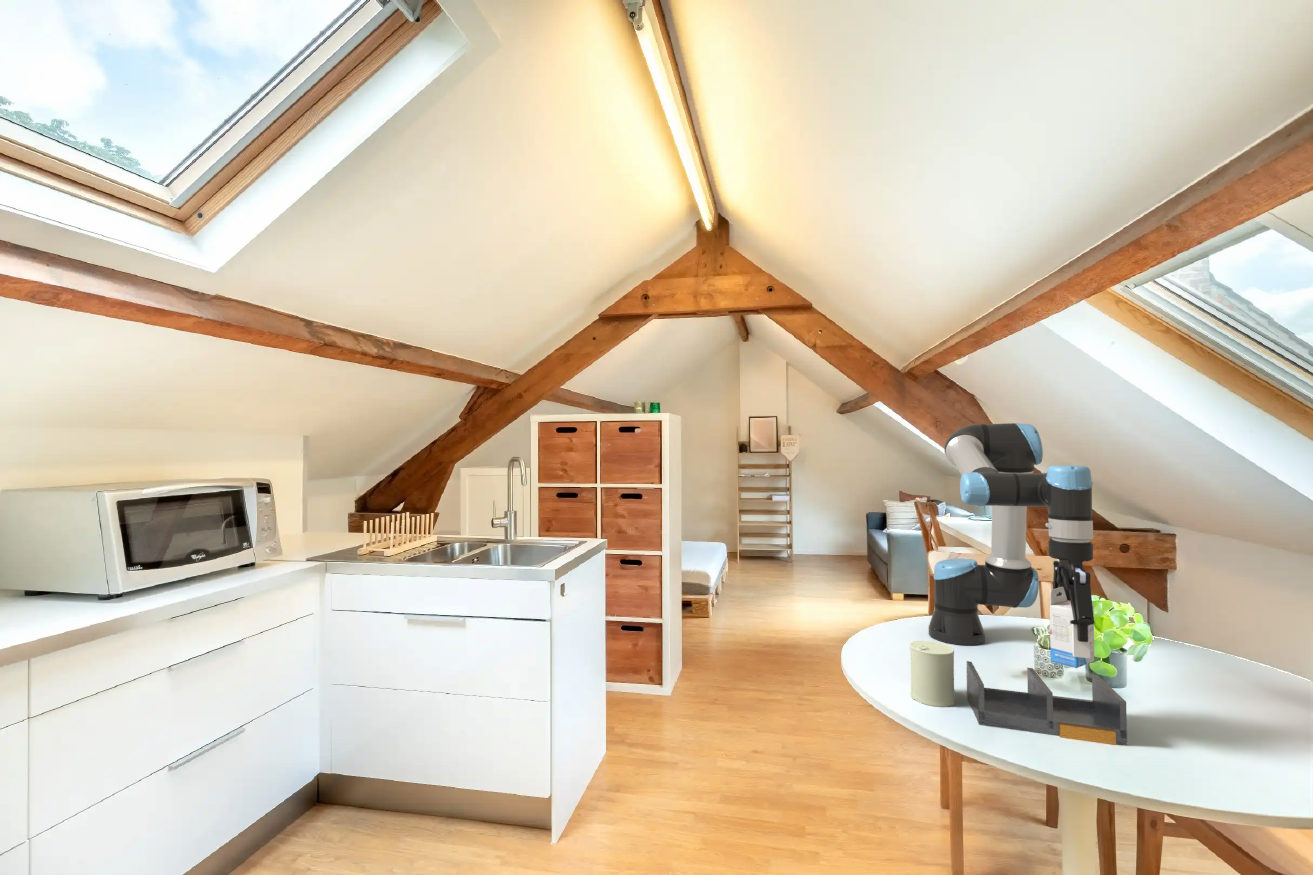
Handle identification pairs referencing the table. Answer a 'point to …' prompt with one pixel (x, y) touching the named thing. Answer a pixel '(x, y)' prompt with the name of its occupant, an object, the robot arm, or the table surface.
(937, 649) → the can
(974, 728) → the table surface
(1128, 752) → the table surface
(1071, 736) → the rack
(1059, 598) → the ink box
